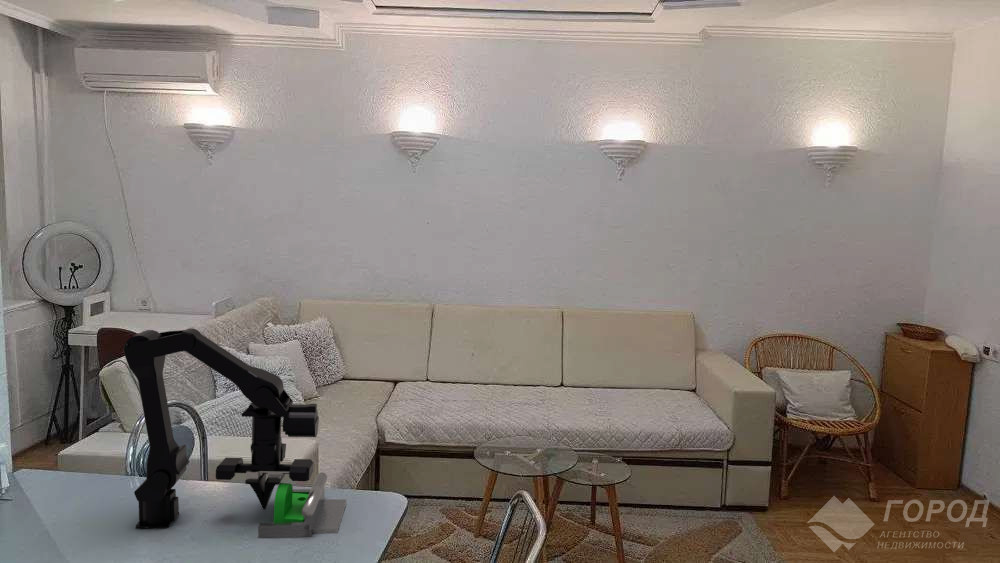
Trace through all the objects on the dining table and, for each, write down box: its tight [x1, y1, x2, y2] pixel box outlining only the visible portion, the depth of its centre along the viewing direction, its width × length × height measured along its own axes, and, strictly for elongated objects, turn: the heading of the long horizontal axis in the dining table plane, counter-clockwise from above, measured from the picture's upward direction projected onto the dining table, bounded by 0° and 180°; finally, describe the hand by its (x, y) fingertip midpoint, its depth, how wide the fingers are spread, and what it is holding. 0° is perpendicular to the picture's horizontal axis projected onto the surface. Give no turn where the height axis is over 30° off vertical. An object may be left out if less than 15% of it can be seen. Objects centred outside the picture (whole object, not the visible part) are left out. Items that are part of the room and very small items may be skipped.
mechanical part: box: [273, 482, 309, 523], centre depth 148 cm, size 12×6×8 cm, turn 0°
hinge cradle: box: [257, 472, 347, 539], centre depth 147 cm, size 15×17×6 cm
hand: (265, 508), depth 146 cm, fingers closed
